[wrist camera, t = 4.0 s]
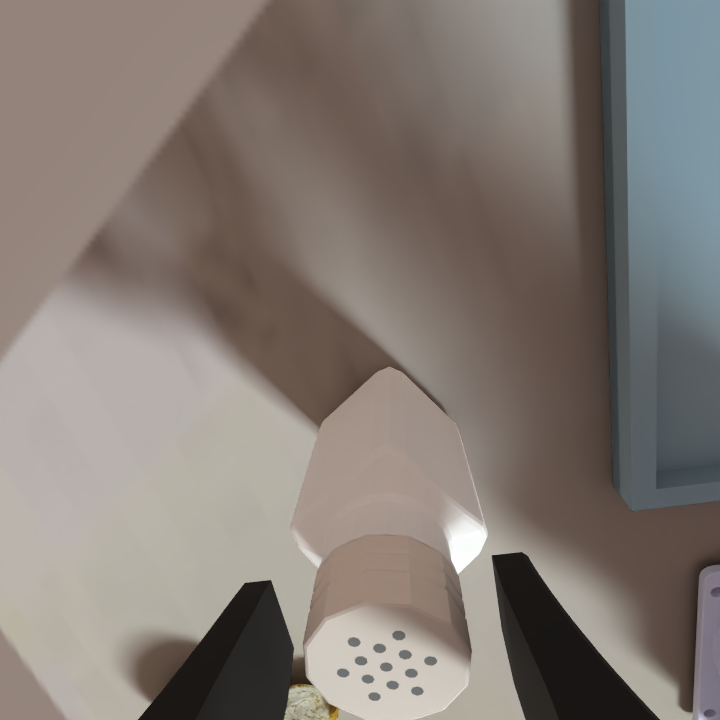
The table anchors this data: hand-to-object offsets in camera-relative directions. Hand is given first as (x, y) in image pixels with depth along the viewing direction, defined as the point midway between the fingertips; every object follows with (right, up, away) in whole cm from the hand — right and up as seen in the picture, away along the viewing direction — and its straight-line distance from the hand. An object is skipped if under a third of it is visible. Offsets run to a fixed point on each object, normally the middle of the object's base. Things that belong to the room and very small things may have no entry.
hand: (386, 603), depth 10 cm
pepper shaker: (0, +3, +8) cm, 8 cm away
